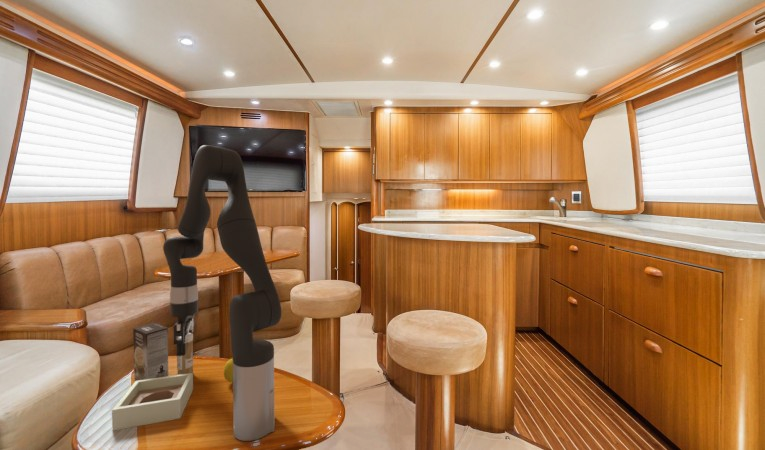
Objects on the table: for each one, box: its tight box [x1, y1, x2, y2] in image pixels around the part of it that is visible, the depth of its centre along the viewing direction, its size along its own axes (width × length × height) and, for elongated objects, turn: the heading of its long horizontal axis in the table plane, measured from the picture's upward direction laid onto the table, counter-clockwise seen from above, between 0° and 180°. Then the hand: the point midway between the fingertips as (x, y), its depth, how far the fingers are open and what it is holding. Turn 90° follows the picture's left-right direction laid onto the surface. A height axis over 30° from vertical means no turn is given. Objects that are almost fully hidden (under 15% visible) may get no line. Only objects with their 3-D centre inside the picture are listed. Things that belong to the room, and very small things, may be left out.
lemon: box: [223, 357, 233, 384], centre depth 97 cm, size 6×6×8 cm
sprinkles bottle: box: [176, 332, 195, 376], centre depth 100 cm, size 5×5×13 cm
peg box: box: [111, 372, 194, 431], centre depth 84 cm, size 14×14×5 cm
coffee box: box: [132, 321, 169, 381], centre depth 100 cm, size 9×6×16 cm
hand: (184, 349), depth 100 cm, fingers open, 8 cm apart
